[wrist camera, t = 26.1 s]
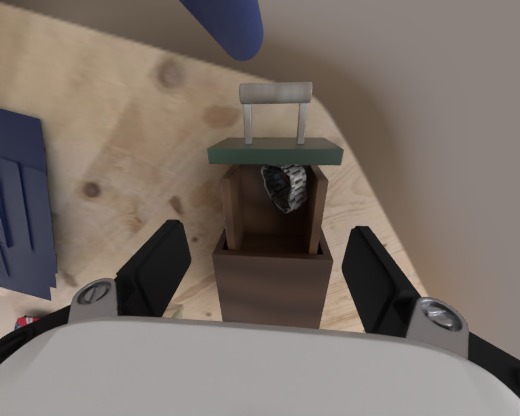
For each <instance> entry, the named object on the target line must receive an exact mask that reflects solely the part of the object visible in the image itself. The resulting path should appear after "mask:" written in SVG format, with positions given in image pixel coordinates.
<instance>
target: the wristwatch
mask: <svg viewBox="0 0 520 416" xmlns="http://www.w3.org/2000/svg"><path fill="white" fill-rule="evenodd" d="M278 172H280V173H281V174H282V175H284V176H285V177H286V178H287V179H288V181H289V182H290V186H289V185H286V184H285V182H284V181H283V180H282V179H280V176H279V173H278ZM261 174H262V177H263V179H264V181H265V182H264V187H265V188H266V190H267V193H268V195H269V197H270V199H271V201H272V203H273V204H274V206H275V207H276V208H277V209H279V210H280V211H282V212H284V213H289V212H291V211H292V210H296V209H297V208H298V207H299V206H301V204H302V202H304V201H305V200H306V199H307V196H308V195H307V193H306V192H305V185H306V175H305V170H304V168H303V167H302V166H300V165H271V164H265V165H263V166H262V167H261Z"/></svg>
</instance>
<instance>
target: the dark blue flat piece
mask: <svg viewBox="0 0 520 416" xmlns="http://www.w3.org/2000/svg"><path fill="white" fill-rule="evenodd" d="M55 273H57V260H56V254H55V249H54V240H53V231H52V222H51V213H50V204H49V195H48V186H47V168H46V157H45V147H44V145H43V139H42V132H41V125H40V119H37V118H33V117H30V116H26V115H22V114H18V113H14V112H10V111H7V110H3V109H0V287H2V288H6V289H10V290H13V291H17V292H21V293H24V294H28V295H32V296H36V297H39V298H43V299H47V300H50V301H51V294H50V287H54V288H56V277H55ZM57 274H58V273H57Z"/></svg>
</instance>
